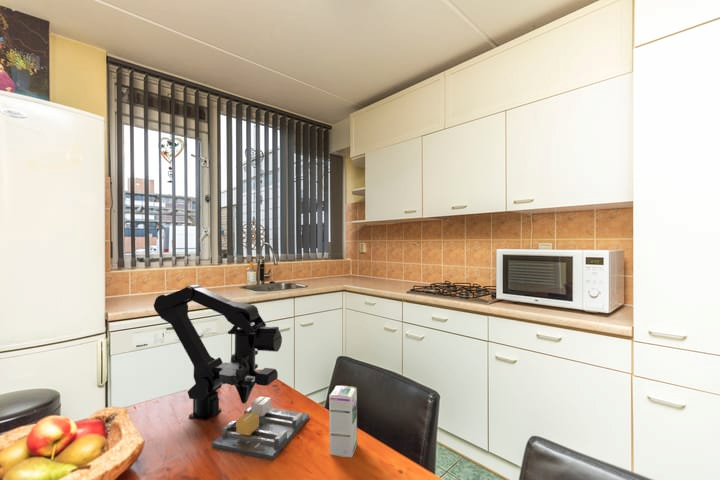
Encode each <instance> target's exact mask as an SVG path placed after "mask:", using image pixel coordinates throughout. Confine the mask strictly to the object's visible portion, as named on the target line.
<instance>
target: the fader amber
mask: <svg viewBox="0 0 720 480" xmlns="http://www.w3.org/2000/svg"><path fill="white" fill-rule="evenodd" d="M236 423H237V428H236V433H238V434H243V435H248V436H249V435H252V432H253V431H254V430H255V429H256V428H258V427H259V414H255V413H250V412H247V413H245V414H244V413H243V415H242V416H240V417H239V418H237V419H236Z"/></svg>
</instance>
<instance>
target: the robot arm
mask: <svg viewBox="0 0 720 480" xmlns="http://www.w3.org/2000/svg"><path fill="white" fill-rule="evenodd" d="M190 302H194V303H197V304H198V305H201V306H203V307H205V308H208V309H209V310H211V311H214V312H215V313H218V314H220V315H222V316H224V318H225V319H226V321H228V322H229V323H230V324H231V325H233V326H232V328H231V329H230V330H228V331H227V335H234V353H233V354H231V357H230V361H229V362H223V360H222V358H221V357H217V358H214V357H212V356H211V355H210V353H209V351H208V350H207V348H206V346H205V344H204V342H203V341H202V339H201V337H200V335H199V334H198V332H197V330H196V328H195V326H194V324H193V323H192V321H191V319H190V317H189V305H188V303H190ZM153 309H154V311H155V312H156V314H158V315H159V317H160V318H161V319H162V320H163V321H165V322H167V323H169V324H170V326H171V327H172V329H173V331H174V332H175V334H176V336H177V338H178V340H179V341H180V343H181V345H182V347H183V349H184V351H185V353H186V354H187V356H188V358H189V360H190V362H191V363H192V365H193V379H194V382H195V383H194V385H193V386H192V387H190V389H188V390H187V395H188V399H191V400H193V401H192V412H191V413H190V414H189V415H188V418H189V419H196V420H201V421H208V420H210V419H211V418H212V417H214V416H215V415H217V414H218V413H220V412H221V411H222V407H220V397H219V391H218V390H219V389H220V388H222V386H223V385H230V386H234V387H235V388H236V391H237V393H238V396H239V399H240V402H241V403H242V404H243V405H244V404H247V402H248V400H249V397H250V395H251V393H252V390H253V389H254V386H255V385H257V386H265V387H266V386H269V385H270V384H272V383H273V382H274V381H276V380H277V379H278V376H279V373H278V370H277V369H276V368H270V367H265V368H262V369H261V370H256V369H258V368H259V367H258V366H259V364H258V363H256V356H257V355H258V354H259V351H260V352H262V351H263V352H275V353H276V352H279V350H280V349H281V347H282V343H283V337H282V334H281V332H280V329H279V328H280V327H279V326H267V324H266V322H265V321H264V319H263V318H262V317H261V315H260V314H259V310H258V307H257V306H256V305H254V304H251V303H246V302H242V301H240V302H239V301H233V300H231V299H228V298H226V297H225V296H221V295H219V294H217V293H215V292H213V291H210V290H209V289H206V288H204V287H202V286H201V285H199V284H194V285H193V284H192V285H187V286H185V287H183V288H182V289H179V290H176V291H174V292H169V293H165V294H159V295H158V296H157V297H156V298H155V299H154V302H153Z"/></svg>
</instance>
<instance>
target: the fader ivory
mask: <svg viewBox="0 0 720 480" xmlns="http://www.w3.org/2000/svg"><path fill="white" fill-rule="evenodd" d="M250 407H251V413H255V414H259V416H264V417H265V414H266V413H267V412H268V411H269V410H270V409H271V408H272V398H271V397H267V396H259V397H257V398H256V399H254V400H253V401H252V402H251V403H250Z"/></svg>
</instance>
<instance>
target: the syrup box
mask: <svg viewBox="0 0 720 480" xmlns="http://www.w3.org/2000/svg"><path fill="white" fill-rule="evenodd" d="M357 390H358V389H357V387H356V386H351V385H350V386H348V385H335V387H334V388H333V389H332V391H331V393H330V394H329V396H328V397H329V400H328V403H329V404H328V405H329V407H328V408H329V410H328V412H329V413H328V414H329V416H328V417H329V419H328V420H329V424H328V425H329V429H328V430H329V455H331V456H335V457H343V458H353V455H354V453H355V451H356V448H357V446H358V399H357V398H358V397H357V396H358V393H357V392H358V391H357Z"/></svg>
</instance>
